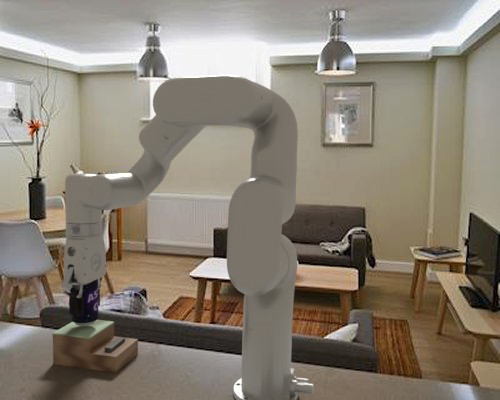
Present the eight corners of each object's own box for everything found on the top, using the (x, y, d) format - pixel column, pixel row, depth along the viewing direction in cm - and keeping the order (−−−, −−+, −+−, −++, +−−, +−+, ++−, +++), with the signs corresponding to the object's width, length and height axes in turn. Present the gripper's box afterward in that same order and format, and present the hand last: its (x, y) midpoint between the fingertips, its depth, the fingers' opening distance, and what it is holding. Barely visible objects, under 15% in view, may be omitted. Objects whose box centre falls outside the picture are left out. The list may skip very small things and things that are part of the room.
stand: (137, 353, 109) (137, 324, 108) (116, 373, 99) (116, 340, 98) (79, 346, 112) (79, 317, 111) (53, 364, 102) (52, 332, 102)
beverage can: (89, 328, 102) (89, 273, 101) (66, 325, 103) (65, 271, 102) (103, 319, 108) (102, 267, 107) (80, 317, 109) (79, 266, 108)
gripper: (76, 237, 94) (77, 325, 96) (119, 225, 111) (119, 300, 113) (43, 235, 96) (45, 321, 98) (90, 223, 113) (91, 297, 114)
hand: (85, 309), depth 105 cm, fingers closed on beverage can, 5 cm apart
